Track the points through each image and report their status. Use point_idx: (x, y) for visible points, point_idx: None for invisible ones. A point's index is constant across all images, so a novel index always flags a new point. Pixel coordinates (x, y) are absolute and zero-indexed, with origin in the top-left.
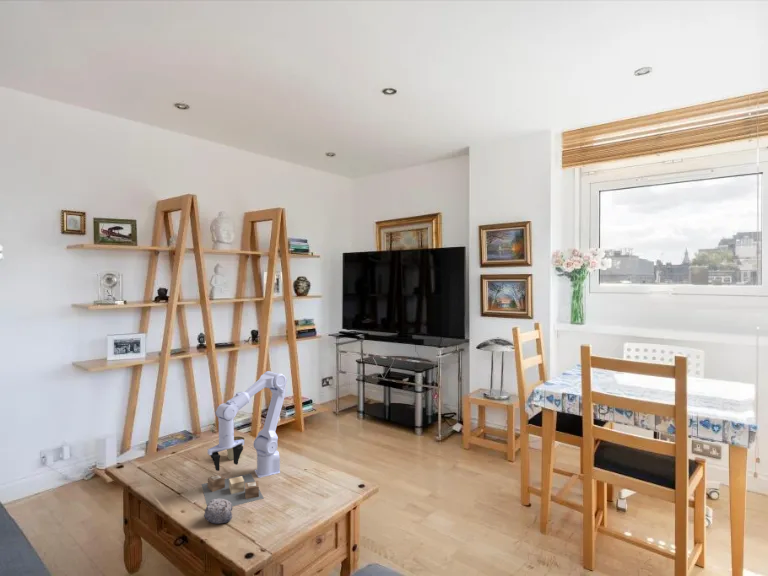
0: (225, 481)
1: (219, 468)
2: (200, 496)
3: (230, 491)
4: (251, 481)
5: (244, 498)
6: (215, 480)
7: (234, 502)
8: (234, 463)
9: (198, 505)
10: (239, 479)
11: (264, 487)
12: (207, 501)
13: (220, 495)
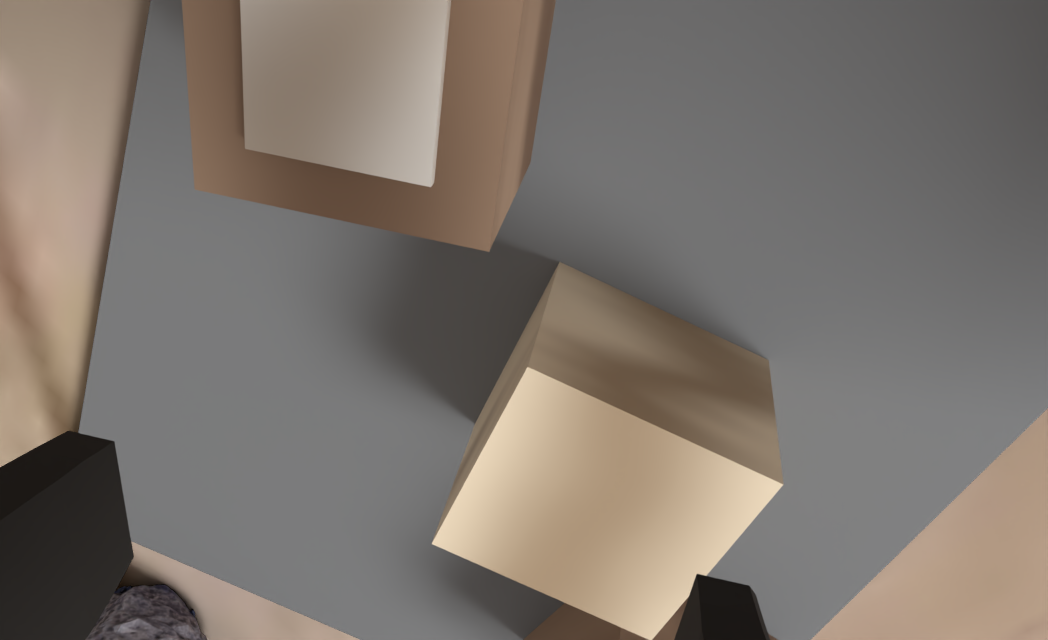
0: None
1: (93, 622)
2: (93, 35)
3: (505, 366)
4: (991, 383)
5: (525, 623)
6: (274, 180)
7: (384, 594)
8: (686, 613)
9: (8, 261)
10: (643, 540)
11: (931, 624)
12: (122, 310)
13: (338, 324)
